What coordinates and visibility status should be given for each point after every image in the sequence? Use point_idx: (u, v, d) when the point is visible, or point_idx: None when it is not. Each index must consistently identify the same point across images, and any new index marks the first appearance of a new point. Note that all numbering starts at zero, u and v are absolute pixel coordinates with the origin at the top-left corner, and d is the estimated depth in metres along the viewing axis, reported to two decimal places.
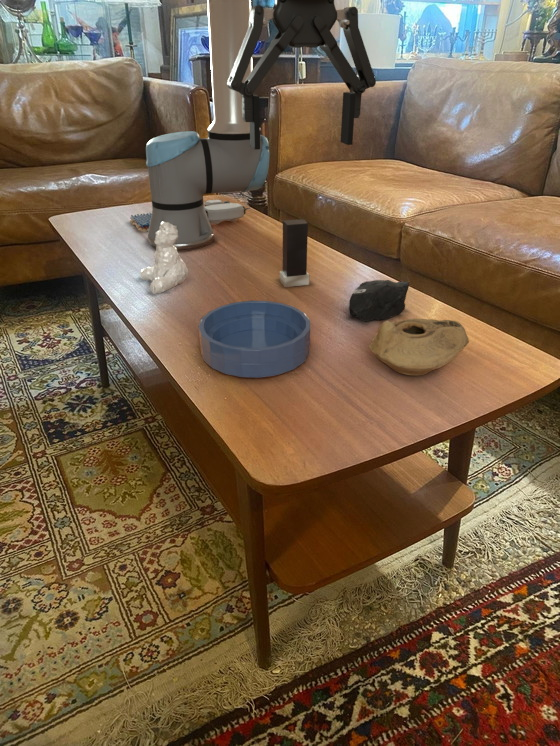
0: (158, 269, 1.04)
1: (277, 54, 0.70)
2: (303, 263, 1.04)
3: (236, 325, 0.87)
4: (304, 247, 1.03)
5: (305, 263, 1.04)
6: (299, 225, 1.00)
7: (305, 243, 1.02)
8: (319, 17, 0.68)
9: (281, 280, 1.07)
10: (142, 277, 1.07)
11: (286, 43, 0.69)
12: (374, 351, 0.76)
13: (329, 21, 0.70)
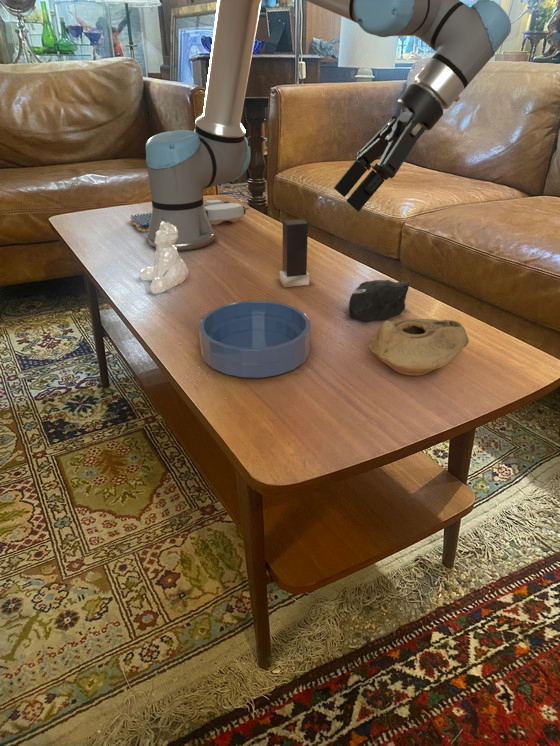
0: (158, 269, 1.04)
1: None
2: (303, 263, 1.04)
3: (236, 325, 0.87)
4: (304, 247, 1.03)
5: (305, 263, 1.04)
6: (299, 225, 1.00)
7: (305, 243, 1.02)
8: None
9: (281, 280, 1.07)
10: (142, 277, 1.07)
11: None
12: (374, 351, 0.76)
13: None
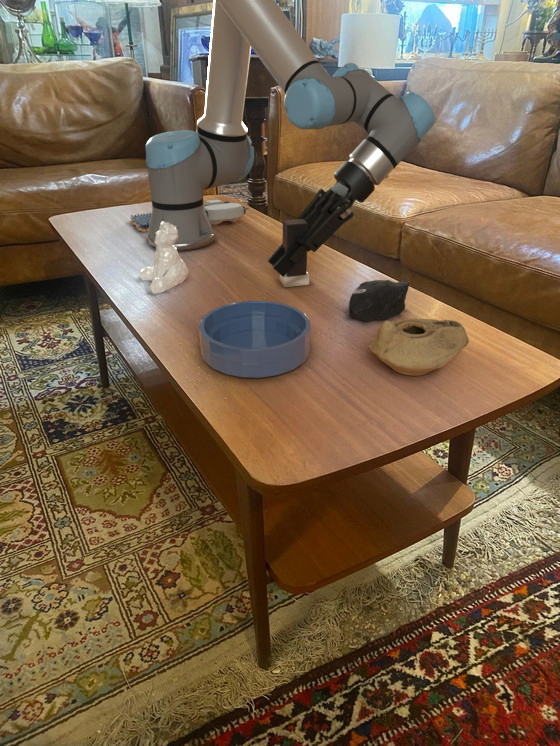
0: (158, 269, 1.04)
1: None
2: (303, 263, 1.04)
3: (236, 325, 0.87)
4: None
5: (305, 263, 1.04)
6: (299, 225, 1.00)
7: None
8: None
9: (281, 280, 1.07)
10: (142, 277, 1.07)
11: None
12: (374, 351, 0.76)
13: None
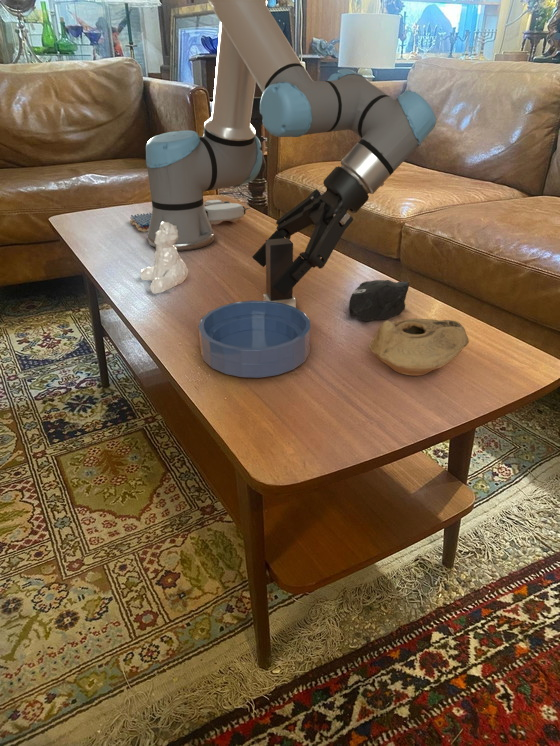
0: (158, 269, 1.04)
1: None
2: None
3: (236, 325, 0.87)
4: None
5: None
6: (283, 245, 0.90)
7: (290, 264, 0.93)
8: None
9: None
10: (142, 277, 1.07)
11: None
12: (374, 351, 0.76)
13: None
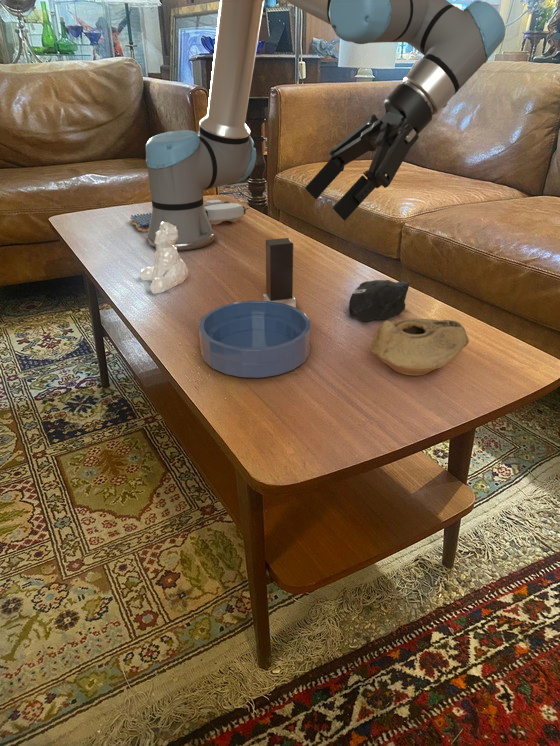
0: (158, 269, 1.04)
1: None
2: (288, 286, 0.94)
3: (236, 325, 0.87)
4: (289, 269, 0.93)
5: (291, 286, 0.95)
6: (283, 245, 0.90)
7: (290, 264, 0.93)
8: None
9: None
10: (142, 277, 1.07)
11: None
12: (374, 351, 0.76)
13: None
